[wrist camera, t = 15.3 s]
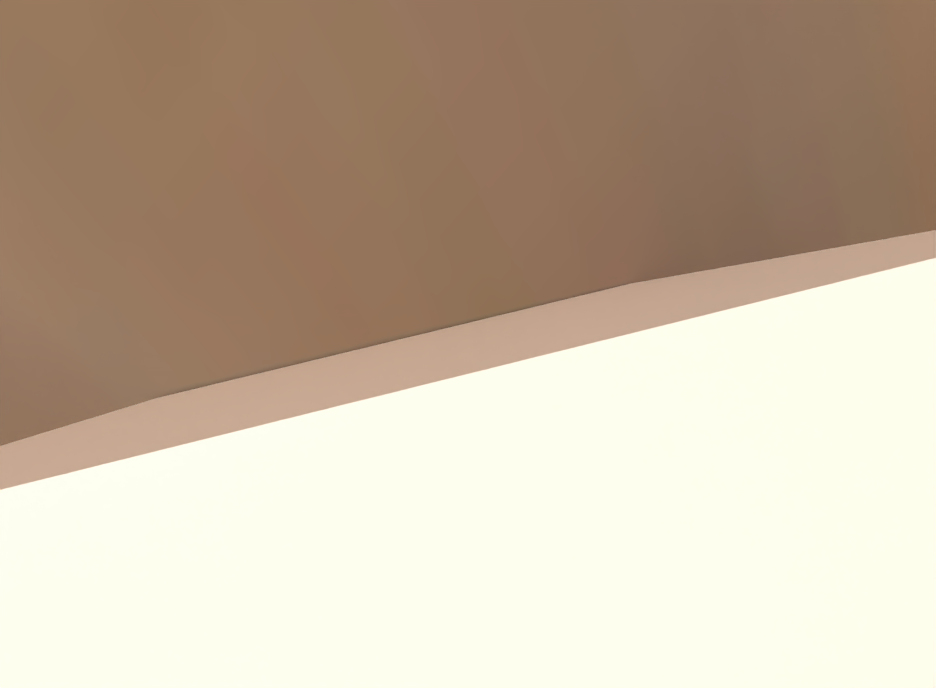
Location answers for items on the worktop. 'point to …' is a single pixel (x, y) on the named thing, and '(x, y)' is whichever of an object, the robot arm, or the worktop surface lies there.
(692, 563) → the cream matte cube
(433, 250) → the worktop surface
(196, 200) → the worktop surface
